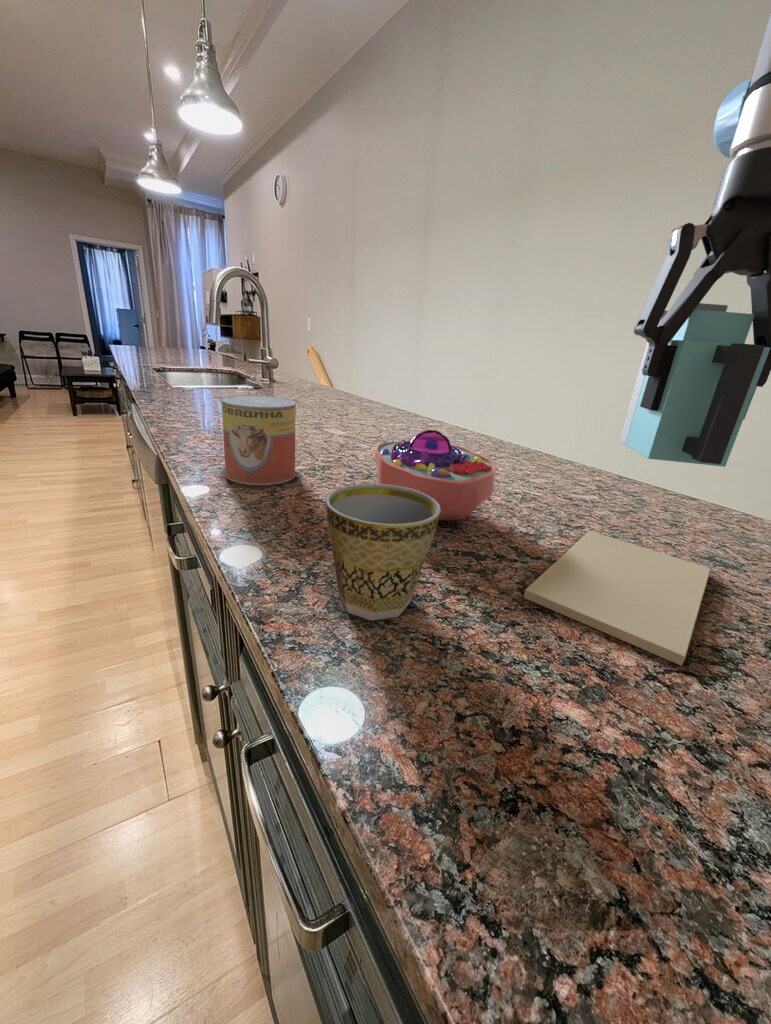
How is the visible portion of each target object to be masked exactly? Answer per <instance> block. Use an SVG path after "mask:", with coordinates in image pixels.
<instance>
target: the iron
mask: <svg viewBox="0 0 771 1024" xmlns="http://www.w3.org/2000/svg"><path fill="white" fill-rule="evenodd" d="M673 304H674V302H673V303H672V305H673ZM728 307H729V305H728V304H717V303H716V304H715V303H704V302H700V303H699V304H698V306H697V307H696V308H695V310H694V311H693V312H692V314H691V315H690V316H689V317H688V319H687V320H686V321H685V323H684V324H683V325H682V327H681V328H680V329H679V331H678V332H677V333H676V335H675V336H674V337H673V338H672V340H671V341H670V342H669V343H668V345H673V346H678V347H677V350H676V353H675V357H674V360H673V363H672V366H671V370H670V373H669V376H668V379H667V383H666V386H665V389H664V392H663V395H662V399H661V402H660V405H659V408H658V411H653V410H648V409H645V408H643V407H640V404H641V401H642V398H643V394H644V391H645V388H646V384H647V381H648V377H649V376H646V375H643V373H642V369H643V365H644V362H645V358H646V355H647V351H648V348H649V343H648V342H647V341H646V345H645V348H644V352H643V355H642V359H641V361H640V366H639V370H638V373H637V377H636V380H635V384H634V387H633V391H632V394H631V398H630V401H629V405H628V409H627V411H626V415H625V419H624V422H623V425H622V426H623V427H622V430H621V433H620V437H619V441H618V442H619V443H621V444H622V445H624V446H625V447H628V448H629V449H630V450H632V451H634V452H636V453H637V454H639V455H641V456H643V457H645V458H647V459H649V460H658V461H665V462H676V463H686V464H693V465H694V464H696V465H705V466H714V467H715V466H716V467H722V468H723V467H725V468H726V466H727V464H728V461H729V459H730V456H731V453H732V450H733V448H734V445H735V442H736V440H737V438H738V435H739V433H740V429H741V426H742V424H743V421H744V420H745V419H744V416H745V414H746V415H747V413H746V411H747V408H748V406H749V403H750V400H751V398H752V395H753V393H754V390H755V387H756V385H757V382H758V379H759V377H760V374H761V372H762V369H763V366H764V364H765V361H766V358H767V356H768V353H769V351H770V348H769V347H765V346H764V345H754V343H751V344H750V343H746V340H747V337H748V335H749V332H750V329H751V327H752V325H753V318H754V316H755V314H752V313H745V312H744V313H743V312H732V311H727V310H728ZM668 311H669V310H665V311H664V313H663V315H662V318H661V320H662V319H663V317H664V316H665V315H666V313H667V312H668ZM661 320H660V321H661ZM659 323H660V322H659ZM756 388H757V387H756ZM755 391H756V390H755ZM754 394H755V393H754ZM753 396H754V395H753ZM752 399H753V398H752ZM751 401H752V400H751ZM750 404H751V403H750ZM749 407H750V406H749ZM748 409H749V408H748ZM747 412H748V411H747ZM745 417H746V416H745ZM743 419H744V420H743Z"/></svg>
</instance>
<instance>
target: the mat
mask: <svg viewBox="0 0 771 1024" xmlns="http://www.w3.org/2000/svg"><path fill="white" fill-rule="evenodd" d="M710 573H711V568H710V567H708V566H705V565H701V564H698V563H695V562H692V561H688V560H686V559H682V558H679V557H675V556H673V555H669V554H666V553H662V552H660V551H657V550H654V549H650V548H647V547H644V546H641V545H638V544H634V543H632V542H627V541H626V540H622V539H618V538H615V537H613V536H609V535H606V534H603V533H599V532H596V531H593V530H588V532H587V533H585V534H584V535H583V536H582V537H581V538H580V539H579V540H578V541H577V542H575V543H574V544H573V546H571V547H570V548H569V549H568V550H567V551H566V552H565V553H563V554H562V555H561V556H560V557H559V558H558V559H557V560H556V561H555V562H554V563H553V564H551V565H550V566H549V567H548V568H547V569H546V570H545V571H544V572H543V573H542V574H541V575H540V576H538V577H537V578H536V579H535V580H534V581H533V582H532V583H531V584H530V585H528V586H527V587H526V588H525V589H524V593H523V598H524V599H525V600H527V601H530V602H533V603H535V604H537V605H540V606H542V607H544V608H546V609H548V610H551V611H553V612H556V613H558V614H560V615H563V616H565V617H567V618H570V619H571V620H574V621H576V622H579V623H581V624H583V625H586V626H588V627H590V628H593V629H595V630H598V631H600V632H602V633H605V634H607V635H609V636H612V637H614V638H616V639H618V640H621V641H623V642H625V643H628V644H630V645H632V646H634V647H637V648H639V649H642V650H644V651H646V652H648V653H651V654H653V655H655V656H657V657H660V658H662V659H665V660H667V661H669V662H671V663H674V664H676V665H678V666H683V664H684V662H685V660H686V657H687V654H688V650H689V646H690V643H691V639H692V637H693V634H694V633H693V632H694V629H695V625H696V623H697V619H698V615H699V613H700V608H701V605H702V601H703V598H704V594H705V590H706V587H707V584H708V581H709V577H710Z"/></svg>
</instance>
